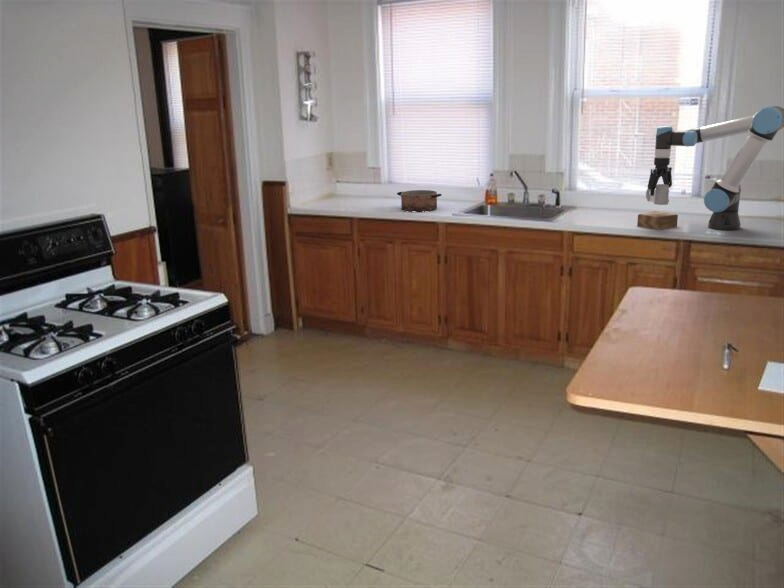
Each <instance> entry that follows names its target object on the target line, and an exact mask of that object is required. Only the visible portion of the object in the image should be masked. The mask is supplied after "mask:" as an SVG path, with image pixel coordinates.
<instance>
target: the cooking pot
mask: <svg viewBox="0 0 784 588" xmlns="http://www.w3.org/2000/svg"><path fill="white" fill-rule="evenodd" d="M396 195H397V196H400V197H401V199H400V200H401V210H402V211H403V210H405V211H404V212H406V211H417V212H416V213H425V211H429V212H433V211H436V210H437V209H438V197H441V196H442V193H437V191H436V190H435V191H434V190H430V189H427V190H426V189H416V190H415V189H414V190H413V189H412V190H406V191H398V192H396ZM422 211H424V212H422Z"/></svg>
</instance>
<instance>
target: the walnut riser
mask: <svg viewBox="0 0 784 588" xmlns="http://www.w3.org/2000/svg"><path fill="white" fill-rule="evenodd" d="M678 217H679V214H677V213H671V212H670V213H669V212H663V211H656V210H655V211H649V212H643V213H639V214H637V227H641V226H642V227H643V228H647V227H648V228H647V229H652V228H654V229H653V230H658V229H661V230H665V228H666V229H670V227H671V228H676V227H678ZM642 227H641V228H642Z"/></svg>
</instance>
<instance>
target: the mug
mask: <svg viewBox="0 0 784 588" xmlns="http://www.w3.org/2000/svg"><path fill="white" fill-rule="evenodd" d="M655 189H656V198H655V202H653V205H659V206H666V205H669V203H670V199H669V193H670V188H669V185H667V184H664V183H662V184H661V183H660V184H659V183H657V185H656V188H655ZM645 199H646V200H647V202H648V203H649V202H650V189H649V188H648V187H647V189H646V191H645Z"/></svg>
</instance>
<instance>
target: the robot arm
mask: <svg viewBox="0 0 784 588" xmlns="http://www.w3.org/2000/svg"><path fill="white" fill-rule="evenodd" d="M782 129H784V108H783V107H781V106H778V105H777V106H776V105H775V106H767V107H762V108H761V109H759V110H758V111H757V112H755V114H754V115H749V116H745V117H740V118H736V119H731V120H728V121H723V122H717V123H713V124H710V125H706V126H700V127H696V128H691V129H686V130H674V129H673V126H669V125H668V126H667V125H661V126H658V127H657V128H656V132H655V133H656V134H655V149H654V160H653V165H654V168H651V169H650V174H649V180H648V184H647V189H648V188H649V189H650V201H649V202H650V203H654V202H655V198H656V185H657V184H659V179H660V178H661V179H662V182H663V183H662V184H667V185H669V189H671V187H672V186H673V180H672V179H673V178H672V169H673V168H672V166H671V167H670V166H669V165H670V163H671V153H672V152H671V151H672V149H671V148H672V147H673V146H674V147H694V146H696V144H699V143H703V142H704V143H705V142H710V141H714V140H718V139H722V138H728V137H733V136H737V135H738V136H739V135H742V134H748V136H747V137H746V139H745V140H744V142H743V143H742V145H741V146H740V148H739V150H738V152H736V154H735V156H734V157H733V159H732V161H731V162H730V164H729V165H728V167H727V169H726V170H725V172H724V174H723V176H722V177H721V178H719V179H717V180H715V182H714V184H713V185H712V187H711V189H709V190H708V191H707V192H706V193H705V195H704V197H703V202H704V206H705V207H706V209H707V210H709V211H710V212H712V214H711V216H710V219H709V221H708V224H707V227H708V228H710V229H713V230H720V231H721V230H722V231H735V230H736V231H737V230H740V229H741V225H742V224H741V219H740V216H739V207H740V201H741V192H742V186H741V185H742V184H741V183H742V182H743V180H744V178H746V177H745V176H746V175H747V173H748V172H749V170H750V169H751V168H752V166H753V164H754V163H755V161H756V159H757V158H758V156H759V155H760V153H761V152H762V150H763V148H764V147H765V145H766V144H767V143H769V142H771V141H773V139H774V138H775V136H776V135H777V133H778V132H779V131H780V130H782Z"/></svg>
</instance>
